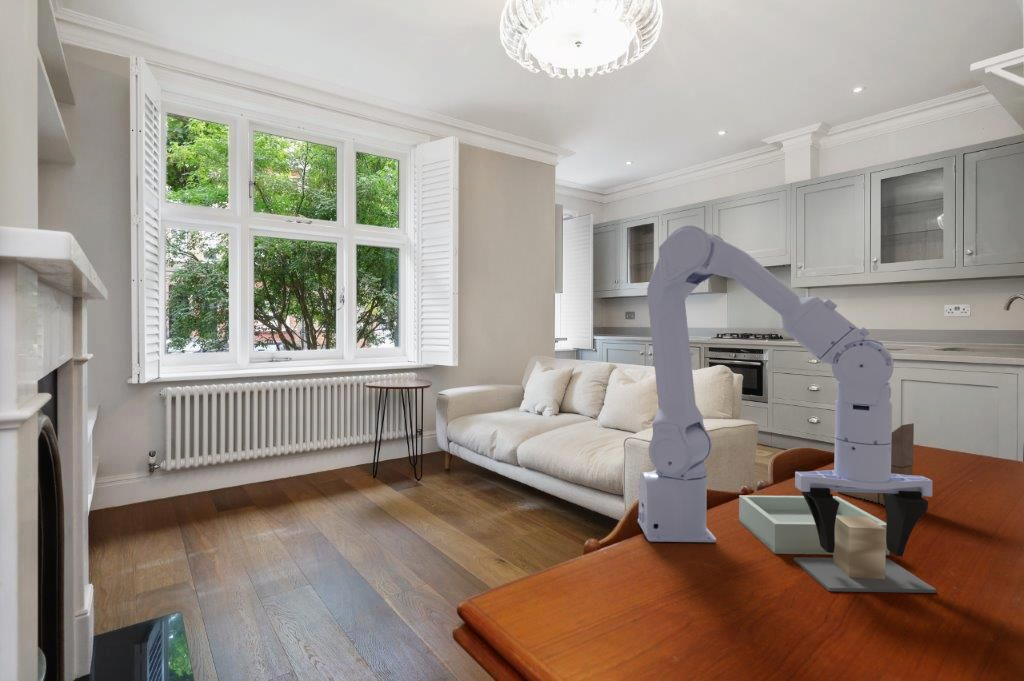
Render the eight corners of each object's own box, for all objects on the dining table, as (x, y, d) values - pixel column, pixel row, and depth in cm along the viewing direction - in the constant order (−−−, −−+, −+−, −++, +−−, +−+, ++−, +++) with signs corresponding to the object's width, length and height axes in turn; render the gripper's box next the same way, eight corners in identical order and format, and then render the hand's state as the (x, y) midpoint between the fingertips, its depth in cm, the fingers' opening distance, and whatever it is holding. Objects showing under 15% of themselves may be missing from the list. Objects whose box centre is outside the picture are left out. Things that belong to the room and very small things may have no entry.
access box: (774, 553, 70) (775, 523, 70) (738, 520, 82) (739, 495, 82) (889, 555, 70) (890, 525, 70) (836, 521, 82) (837, 496, 82)
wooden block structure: (901, 510, 87) (903, 401, 86) (835, 492, 96) (837, 394, 96) (913, 507, 89) (915, 400, 88) (847, 489, 98) (849, 393, 98)
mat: (828, 591, 60) (828, 587, 60) (793, 560, 68) (793, 557, 68) (936, 592, 60) (936, 589, 60) (888, 561, 68) (888, 558, 68)
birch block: (848, 577, 63) (849, 527, 63) (833, 562, 67) (833, 515, 67) (885, 579, 62) (886, 528, 62) (867, 564, 66) (867, 516, 66)
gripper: (907, 434, 67) (905, 541, 67) (786, 431, 69) (784, 535, 69) (945, 447, 60) (943, 565, 60) (809, 443, 62) (807, 558, 62)
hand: (860, 551), depth 64 cm, fingers open, 7 cm apart
